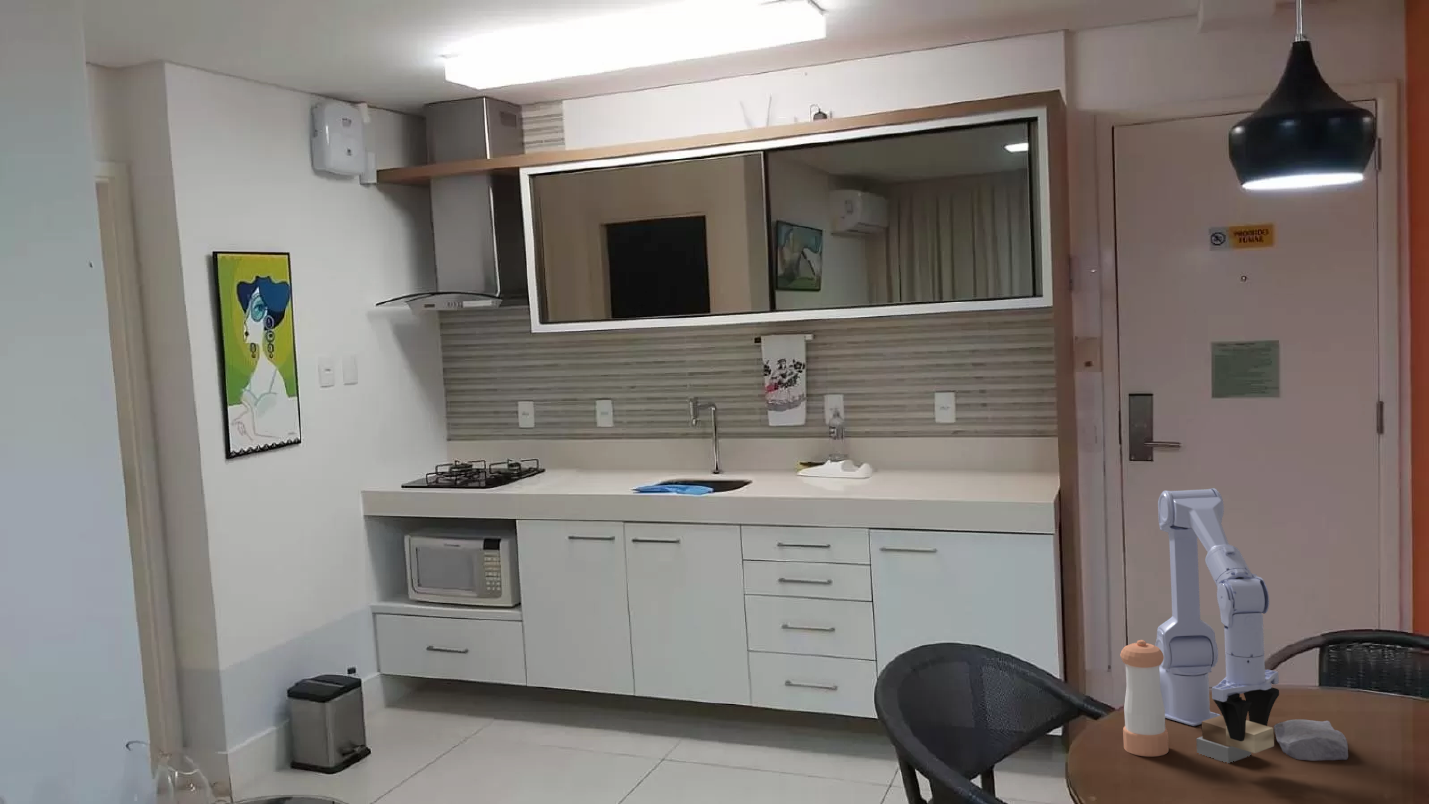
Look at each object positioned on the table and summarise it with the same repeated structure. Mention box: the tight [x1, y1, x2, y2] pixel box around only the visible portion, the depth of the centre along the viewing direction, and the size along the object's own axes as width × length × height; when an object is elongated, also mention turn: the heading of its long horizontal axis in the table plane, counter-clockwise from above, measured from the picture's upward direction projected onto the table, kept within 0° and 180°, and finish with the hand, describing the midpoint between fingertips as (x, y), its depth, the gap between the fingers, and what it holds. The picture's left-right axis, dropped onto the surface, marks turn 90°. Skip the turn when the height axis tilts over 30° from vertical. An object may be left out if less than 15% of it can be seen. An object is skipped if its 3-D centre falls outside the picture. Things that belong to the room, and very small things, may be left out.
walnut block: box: [1201, 714, 1230, 747], centre depth 189 cm, size 5×5×3 cm
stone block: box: [1273, 718, 1349, 762], centre depth 190 cm, size 12×5×10 cm
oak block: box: [1226, 719, 1275, 754], centre depth 180 cm, size 5×5×3 cm
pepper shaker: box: [1119, 639, 1170, 758], centre depth 193 cm, size 7×7×19 cm
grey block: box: [1195, 736, 1252, 764], centre depth 189 cm, size 6×6×3 cm
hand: (1247, 735), depth 180 cm, fingers closed on oak block, 5 cm apart
